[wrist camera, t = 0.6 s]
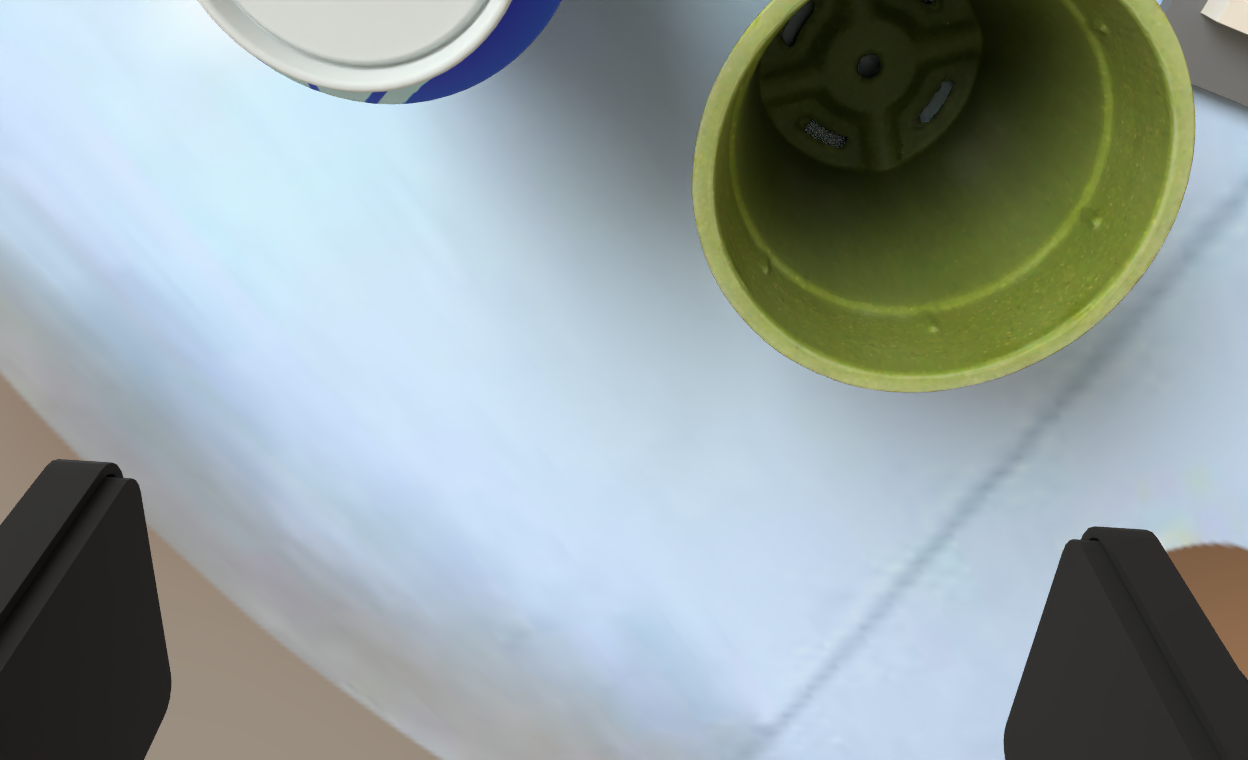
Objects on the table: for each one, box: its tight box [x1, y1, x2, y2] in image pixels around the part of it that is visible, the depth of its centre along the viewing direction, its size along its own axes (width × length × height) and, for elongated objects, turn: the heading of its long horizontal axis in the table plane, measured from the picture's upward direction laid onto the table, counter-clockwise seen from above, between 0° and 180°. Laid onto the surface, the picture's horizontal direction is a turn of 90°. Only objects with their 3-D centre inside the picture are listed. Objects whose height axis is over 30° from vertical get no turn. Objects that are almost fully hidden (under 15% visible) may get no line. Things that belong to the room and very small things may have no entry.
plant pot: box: [692, 0, 1195, 393], centre depth 33 cm, size 12×12×11 cm
